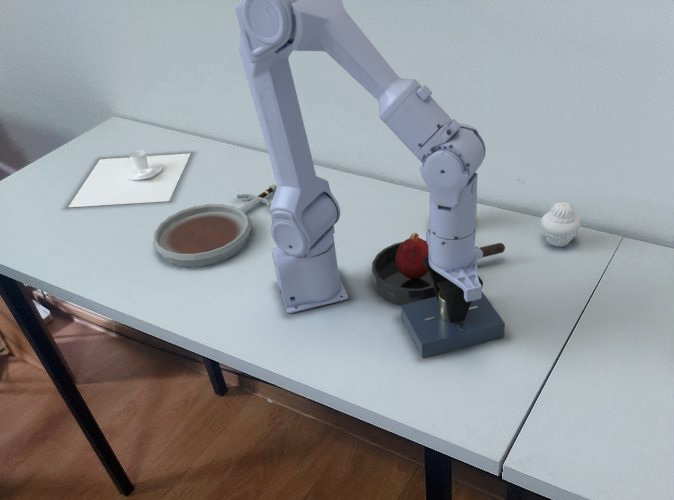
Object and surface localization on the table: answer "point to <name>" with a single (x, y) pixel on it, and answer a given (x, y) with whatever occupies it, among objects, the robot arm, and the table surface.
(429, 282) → the skillet
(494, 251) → the skillet handle
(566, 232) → the muffin
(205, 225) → the frying pan
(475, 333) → the blue control panel
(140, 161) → the teacup and saucer
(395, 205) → the table surface
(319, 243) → the robot arm
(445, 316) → the knob
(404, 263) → the red pomegranate
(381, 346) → the table surface
